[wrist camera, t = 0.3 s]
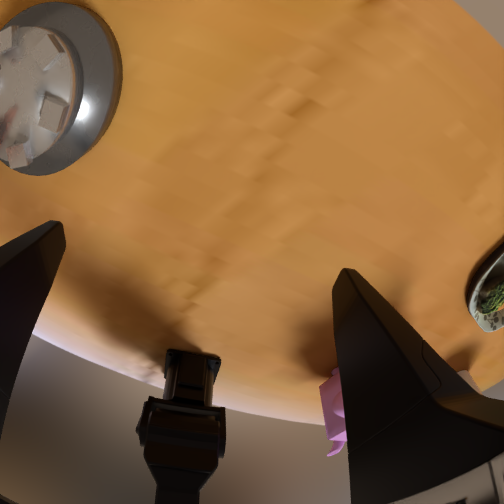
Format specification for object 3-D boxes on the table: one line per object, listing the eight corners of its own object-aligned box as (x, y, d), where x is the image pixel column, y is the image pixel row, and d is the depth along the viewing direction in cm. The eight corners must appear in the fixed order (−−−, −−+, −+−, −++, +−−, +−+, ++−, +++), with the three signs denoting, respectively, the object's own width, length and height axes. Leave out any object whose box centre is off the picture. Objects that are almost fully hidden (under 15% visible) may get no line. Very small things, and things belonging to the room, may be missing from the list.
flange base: (111, 177, 23) (101, 187, 21) (-48, 154, 19) (-60, 161, 18) (141, 2, 15) (132, -3, 13) (-41, 26, 12) (-55, 28, 10)
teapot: (314, 339, 34) (330, 426, 25) (422, 315, 32) (457, 390, 23) (318, 399, 42) (328, 464, 33) (402, 380, 41) (421, 440, 32)
